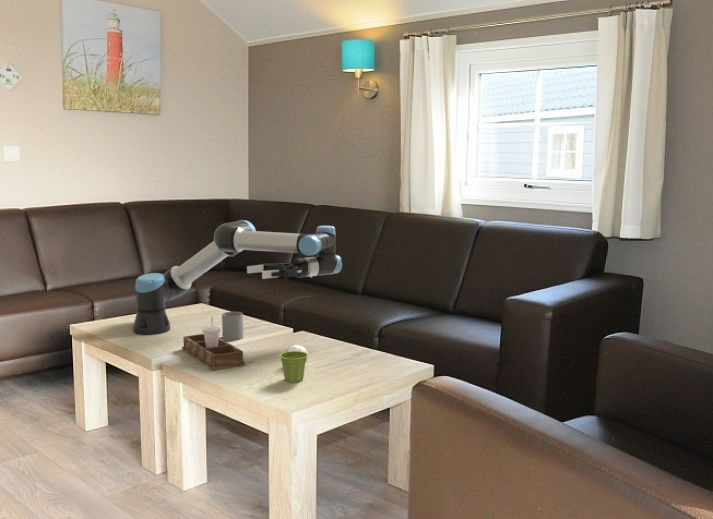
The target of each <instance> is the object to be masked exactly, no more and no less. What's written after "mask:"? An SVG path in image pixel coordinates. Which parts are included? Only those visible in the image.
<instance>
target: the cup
mask: <svg viewBox="0 0 713 519" xmlns="http://www.w3.org/2000/svg"><path fill="white" fill-rule="evenodd" d="M221 322H222V323H221V324H222V326H221V328H222V333H221V334H222V339H223V340H224V341H226V342H227V341H229V342H230V341H231V342H232V341H233V342H234V341H240V340H242V339H244V314H243V312H241V311H227V312H223V313H222V314H221Z"/></svg>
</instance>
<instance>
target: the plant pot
mask: <svg viewBox="0 0 713 519" xmlns="http://www.w3.org/2000/svg"><path fill="white" fill-rule="evenodd" d="M307 357H308V358H309V353H308V354H307V353H305V352H300V351H289V352H287V351H284V352H282V353H279V358H280V361H281V364H282V370H283V376H284V381H286V382H289V383H299V382H300V381H301V382H302V381H304V375H305V369H306V363H307V361H306V359H307ZM305 362H306V363H305Z"/></svg>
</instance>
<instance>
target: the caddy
mask: <svg viewBox="0 0 713 519" xmlns="http://www.w3.org/2000/svg"><path fill="white" fill-rule="evenodd" d="M181 348H182V350H183V351H184V352H185V353H187V354H188V355H190V356H191V357H193V358H194V359H196V360H197V361H199V362H200V363H201V364H203V365H205V366H206V367H207V368H209V369H210V370H211V371H218V370H219V371H220V370H224V369H231V368H235V367H243V366H246V362H245V361H244V351H243V350H241V349H240V348H238V347H236V346H234V345H232V344H231V343H229V342H227V340H223V338H221V337H219V341H218V346H217V347H210V348H206V344H205V338H204V333H198V334H193V335H184V336H183V346H181Z"/></svg>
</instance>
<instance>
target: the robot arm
mask: <svg viewBox="0 0 713 519" xmlns="http://www.w3.org/2000/svg"><path fill="white" fill-rule="evenodd" d="M315 231H316V232H315V233H311V234H309V233H307V234H306V233H293V232H292V233H291V232H279V231H278V232H273V231H260V230H258V231H257V230H256V227H255V226H254V225H253V223H252V222H250V221H249V220H244V219H239V220H236V221H230V222H225V223H222V224H221V225H219V226H217V228H216V229H215V231H214V234H213V241H212V242H210V243H209V244H208V245H206V246H205V247H203V248H202V249H200V251H198V252H197V253H196V254H194V255H193V256H191V257H190V258H189V259H187V260H186V261H184V262H183V263H182V264H181V265H179V266H178V265H174V266H172V267H171V268H170V269H168V270H167V271H165V272H164V273H160V272H159V273H158V272H152V273H151V272H150V273H146V274H145V273H144V274H142V275H140V276H138V277H137V278H136V279H135V286H134V288H135V302H136V304H135V305H136V315H135V317H134V318H135V319H134V321H133V326H132V328H133V329H132V330H133V331H134V332H135V334H137V333H138V335H156V334H162V333H166V332H167V333H168V332H169V331H170V330H171V323H170V320H169V318H168V315H167V312H166V302H168V301H171V300H176V299H179V298H182V297H183V296H184V295H185V294H186V293H187V292H188V291H189V289H190V288H191V287H192V283H194V281H196V280H197V279H198V278H199V277H201V276H202V275H204V274H205V273H206V272H208V271H209V270H211V269H212V268H213V267H215V266H216V265H218V264H219V263H220V262H222V261H223V260H224V259H226V258H227V257H235V256H236V255H237V254H239V253H242V251H244V250H246V251H260V252H276V253H289V254H290V253H291V254H292V253H293V254H303V255H304V256H308V257H298V258H297V257H296V258H294V259H293V260H292V263H290V262H284V263H283V262H280V263H278V262H277V263H261V264H257V265H247V266H246V273H247V274H257V273H261V279H263V280H265V279H276V278H284V279H286V278H290V277H295V278H299V279H301V278H306V277H310V278H313V277H318V276H326V275H334V274H338V273H340V272H341V270H342V269H343V268H342V267H343V262H342V257H341V256H340V255H338V254H336V237H337V235H336V228H335V226H333V225H319V226H317V227H316V230H315ZM315 255H316V256H315ZM309 256H310V257H309ZM134 332H133V333H134Z"/></svg>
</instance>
